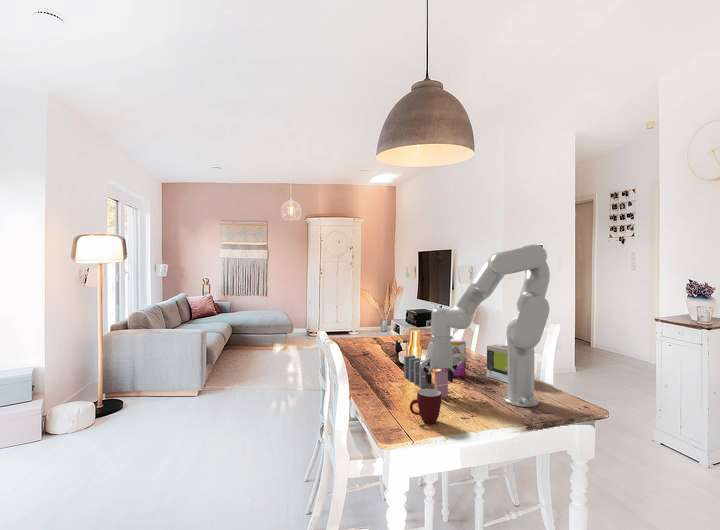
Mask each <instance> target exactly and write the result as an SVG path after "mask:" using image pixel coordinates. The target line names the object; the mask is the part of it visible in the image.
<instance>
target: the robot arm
mask: <svg viewBox="0 0 720 530" xmlns="http://www.w3.org/2000/svg"><path fill="white" fill-rule="evenodd" d="M547 259H548V253H547V250H546V249H545V248H544V247H543V246H542V245H540V244H534V243H533V244H527V245H524V246H522V247H518V248H514V249H510V250H506V251H497V252H495V253H492V254H491V255H490V256H489V257H488V258H487V260H486V261H485V263H484V264H483V265H482V267H481V269H480V270H479V272H478V273H477V275H476V276H475V277H474V279H473V280H472V281H471V283H470V285H469V286H468V287H467V289H466V290H465V291H464V293H463V294H462V296H461V297H460V298H459V300H458V301H457V303H456V304H455V306H454V307H453V309H452V310H450V309H448V308H444V307H437V308H432V310H431V319H430V321H431V323H430V325H431V326H430V327H431V328H430V341H429V342H428V345H427V348H426V358H425V359H423V360H424V361H422V362H421V363H420V365H421V367H422V370H423V371H424V372H425V373H426V383H428V384H429V385H431V386H432V379H433V378H432V377H433V375H432V372H433V371H434V370H441V369H445V368H448V371H447V372H448V382H450V383H453V382H454V376H453V372H455V369H456V368H457V365H458V363H459V360H457V359H456V358H454V357H453V351H452V345H451V343H450V340H454V338H453V336H452V335H451V329H452V328H453V329H456V330H457V329H458V330H466V329H467V328H469V327H470V325H471V324H472V317H471V316H472V315H473V314H474V312H475V311H476V310H477V309H478V307H479V306H480V305H481V303H483V302H484V301H485V300H487V299H488V298H489V297H490V296H491V295H492V294H493V292H494V291H495V290H496V288H497V287H498V286H499V284H500V283H501V281H502V279H504V276H505V275H511V274H516V273H520V272H524V273H525V276H524V281H523V283H522V287H521V289H520V290H521V291H520V293H519V297H518V298H517V302H516V309H517V310H518V312H519V313H518V316H517V318H515V319H512V320H511V321H510V322H509V323H508V325H507V327H506V345H507V347H508V383H507V393H505V394H504V395H503V397H502V398H503V399H502V400H503V401H504V402H505V403H507V404H509V405H513V406H517V407H521V408H523V407H525V408H530V407H536V406H538V405H539V403H540V402H539V401H540V400H539V399H538V398H537V397H536V396H535V347H536V346H537V345H539V343H540V341H541V339H542V336H543V334H544V330H545V328H546V325H547V321H548V319H549V315H550V304H549V301H548V300H547V298H546V294H547V291H548V288H549V287H548V286H549V283H550V278H551V273H550V268H549V265H548V263H547ZM453 361H454V364H453ZM425 364H426V366H427V368H426V367H425Z"/></svg>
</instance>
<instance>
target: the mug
mask: <svg viewBox="0 0 720 530" xmlns="http://www.w3.org/2000/svg"><path fill="white" fill-rule="evenodd" d="M416 393H417V394H416V399H413V400H411V402H410V404H409V410H410V412H411V413H412V414H413V415H417V416H420V418H421V420H422V422H423V423H424V424H427V425H434V424H435V423H436V422H437V420H438V419H439V416H440V412H441V407H442V400H443V399H442V398H443V397H442V396H441V392H440V391H438V390H435V388H419V389H418V390H417V392H416ZM414 404H417V407H418V412H417V411H415V410H414V408H413V407H414Z"/></svg>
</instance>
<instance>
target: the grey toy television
mask: <svg viewBox="0 0 720 530" xmlns="http://www.w3.org/2000/svg"><path fill="white" fill-rule="evenodd" d="M486 376H487V377H488V378H490V379H495V380H497V381H501V382H504V383H506V384H508V347H507V344H504V343H497V344H490V345H489V344H488V345H486Z"/></svg>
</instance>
